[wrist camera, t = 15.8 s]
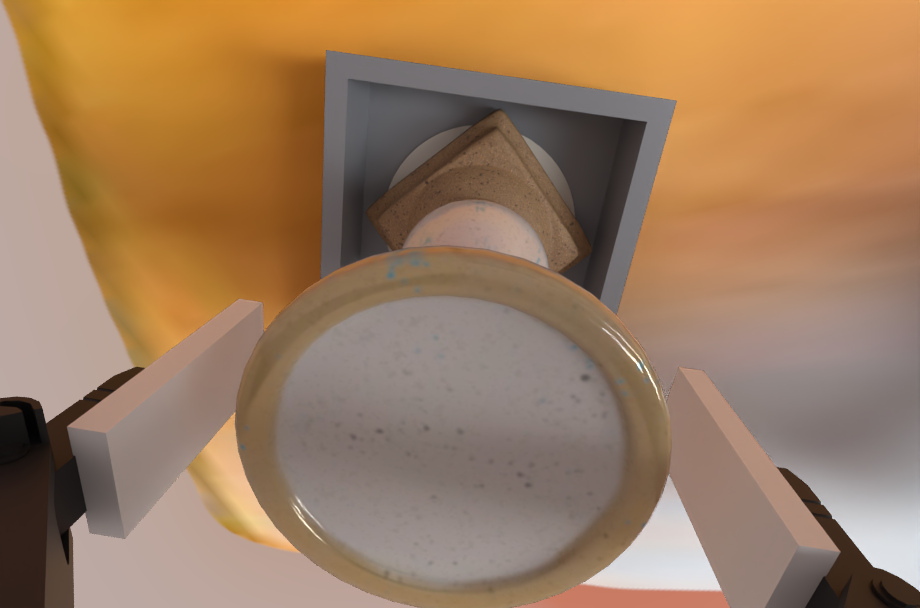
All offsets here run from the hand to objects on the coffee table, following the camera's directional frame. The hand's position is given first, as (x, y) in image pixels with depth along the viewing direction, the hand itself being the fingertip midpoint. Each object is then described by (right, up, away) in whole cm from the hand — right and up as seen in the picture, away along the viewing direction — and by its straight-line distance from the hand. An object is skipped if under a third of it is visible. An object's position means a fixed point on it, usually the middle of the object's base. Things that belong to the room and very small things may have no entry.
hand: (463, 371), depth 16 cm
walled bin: (+1, +8, +19) cm, 21 cm away
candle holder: (+1, +8, +18) cm, 20 cm away
